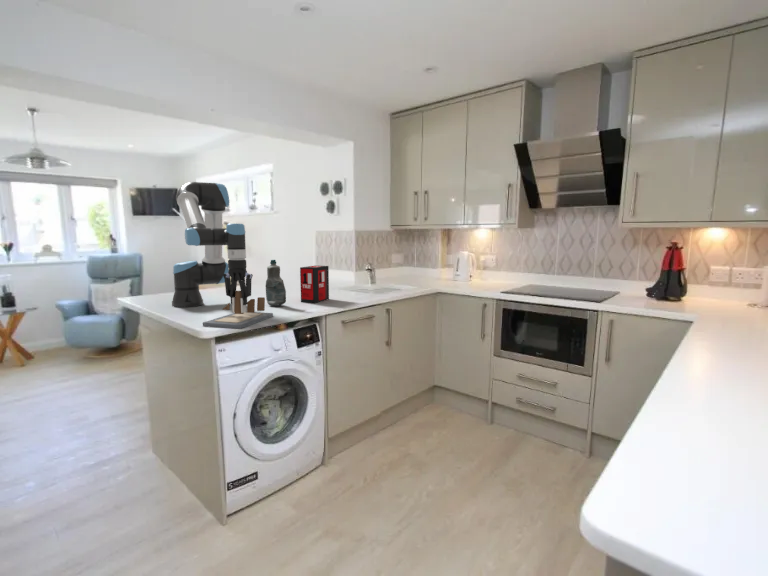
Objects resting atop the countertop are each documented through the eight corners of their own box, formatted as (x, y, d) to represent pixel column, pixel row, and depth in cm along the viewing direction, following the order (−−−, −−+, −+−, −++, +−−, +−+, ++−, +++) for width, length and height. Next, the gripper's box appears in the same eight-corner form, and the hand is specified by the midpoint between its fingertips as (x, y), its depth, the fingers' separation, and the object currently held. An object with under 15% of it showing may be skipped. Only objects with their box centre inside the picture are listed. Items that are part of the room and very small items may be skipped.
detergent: (289, 305, 216) (288, 259, 213) (281, 308, 210) (279, 260, 206) (270, 304, 221) (268, 259, 218) (261, 306, 215) (259, 259, 211)
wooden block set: (263, 314, 187) (264, 292, 188) (265, 314, 179) (266, 291, 180) (222, 313, 181) (223, 291, 181) (222, 313, 173) (223, 290, 173)
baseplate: (202, 326, 167) (202, 321, 167) (239, 314, 192) (239, 310, 192) (240, 328, 163) (240, 324, 163) (273, 316, 188) (272, 312, 188)
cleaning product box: (314, 303, 224) (313, 267, 221) (301, 302, 227) (300, 267, 224) (329, 299, 239) (328, 265, 236) (316, 298, 242) (315, 265, 240)
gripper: (214, 259, 172) (217, 312, 175) (249, 260, 168) (251, 314, 171) (225, 258, 180) (228, 309, 183) (258, 259, 176) (260, 311, 179)
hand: (239, 311), depth 177 cm, fingers closed on wooden block set, 3 cm apart
